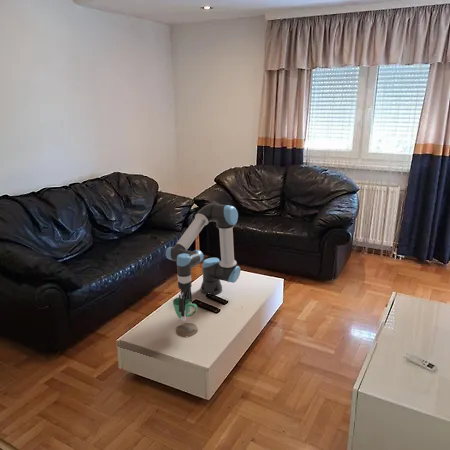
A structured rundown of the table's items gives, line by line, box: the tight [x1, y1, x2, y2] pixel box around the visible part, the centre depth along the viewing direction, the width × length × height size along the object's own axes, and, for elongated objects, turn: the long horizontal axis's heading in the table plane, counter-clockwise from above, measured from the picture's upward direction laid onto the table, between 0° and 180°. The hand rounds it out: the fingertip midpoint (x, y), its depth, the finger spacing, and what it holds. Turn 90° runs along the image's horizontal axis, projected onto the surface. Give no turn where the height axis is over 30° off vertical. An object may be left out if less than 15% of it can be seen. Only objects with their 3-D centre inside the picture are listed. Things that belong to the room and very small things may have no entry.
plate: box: [175, 322, 199, 338], centre depth 232 cm, size 13×13×1 cm
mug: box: [172, 296, 198, 319], centre depth 227 cm, size 15×10×10 cm
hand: (186, 316), depth 229 cm, fingers closed on mug, 9 cm apart
